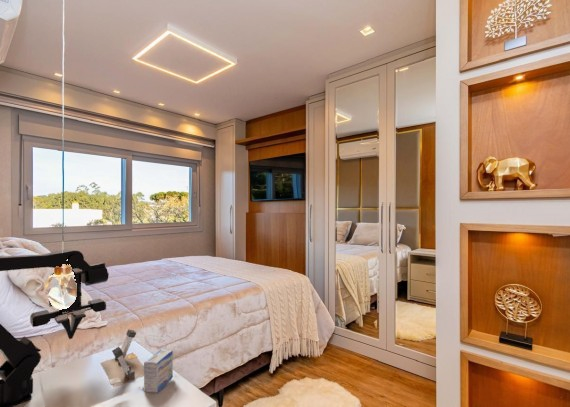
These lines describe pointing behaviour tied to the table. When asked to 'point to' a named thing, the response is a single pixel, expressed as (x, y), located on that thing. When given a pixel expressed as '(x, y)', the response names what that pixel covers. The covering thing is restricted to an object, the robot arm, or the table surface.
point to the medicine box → (158, 371)
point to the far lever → (127, 341)
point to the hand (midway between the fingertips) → (70, 338)
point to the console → (117, 372)
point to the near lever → (121, 359)
